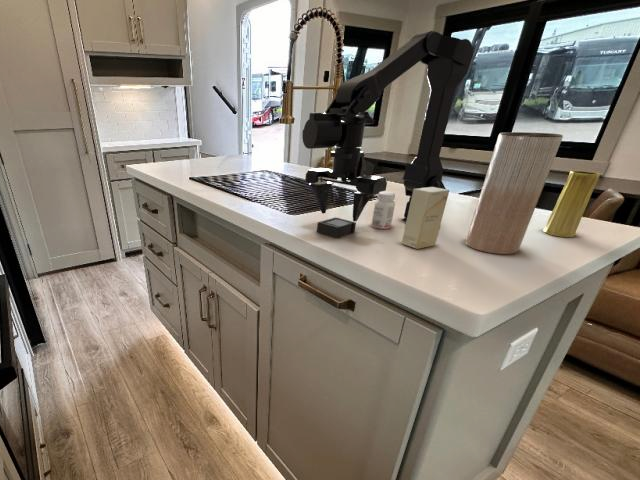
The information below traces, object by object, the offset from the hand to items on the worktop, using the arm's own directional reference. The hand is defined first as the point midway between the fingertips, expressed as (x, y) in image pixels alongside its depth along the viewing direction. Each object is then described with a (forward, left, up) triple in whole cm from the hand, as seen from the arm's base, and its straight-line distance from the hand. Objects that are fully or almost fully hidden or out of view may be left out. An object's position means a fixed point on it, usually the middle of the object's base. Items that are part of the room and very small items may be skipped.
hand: (338, 217), depth 86 cm
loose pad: (0, 0, -4) cm, 4 cm away
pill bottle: (-4, -13, -4) cm, 14 cm away
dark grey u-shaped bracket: (0, 0, -4) cm, 4 cm away
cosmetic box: (-17, -7, -4) cm, 19 cm away
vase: (-35, -41, -4) cm, 54 cm away
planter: (-28, -18, -4) cm, 34 cm away
